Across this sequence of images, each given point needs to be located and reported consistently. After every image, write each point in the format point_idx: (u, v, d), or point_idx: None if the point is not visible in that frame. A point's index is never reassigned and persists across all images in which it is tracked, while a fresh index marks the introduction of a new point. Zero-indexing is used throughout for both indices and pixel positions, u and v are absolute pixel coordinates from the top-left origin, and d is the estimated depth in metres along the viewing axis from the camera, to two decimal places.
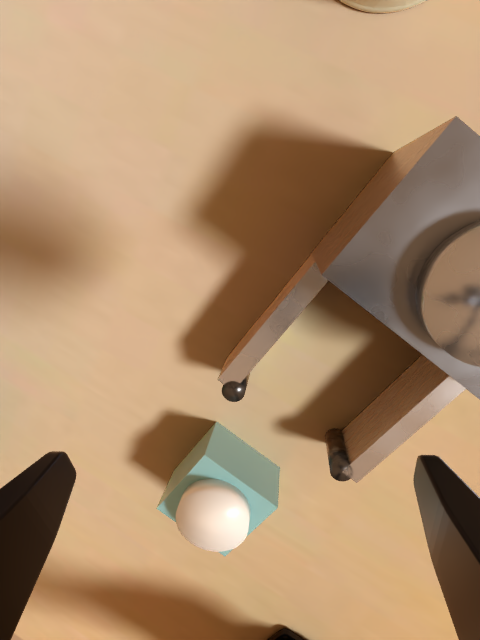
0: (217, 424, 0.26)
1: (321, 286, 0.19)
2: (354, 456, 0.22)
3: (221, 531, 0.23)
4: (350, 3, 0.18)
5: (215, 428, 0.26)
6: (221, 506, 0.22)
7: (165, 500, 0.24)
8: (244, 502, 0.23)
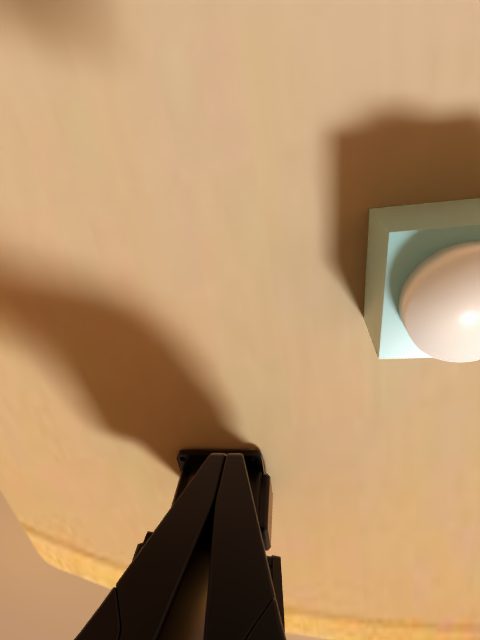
0: None
1: None
2: None
3: (465, 331, 0.14)
4: None
5: None
6: None
7: (418, 232, 0.13)
8: None
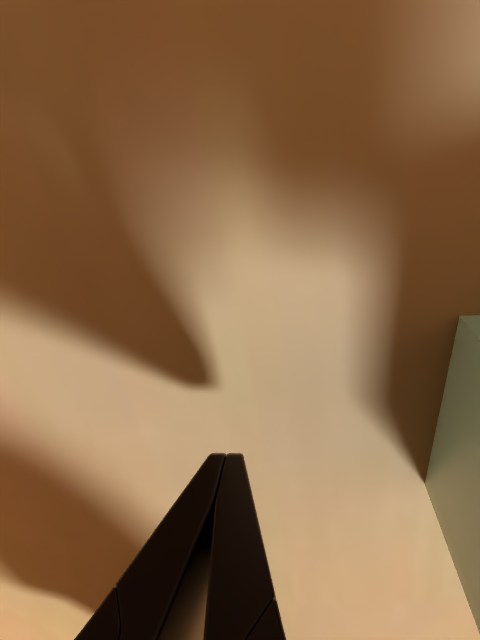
0: None
1: None
2: None
3: None
4: None
5: None
6: None
7: None
8: None
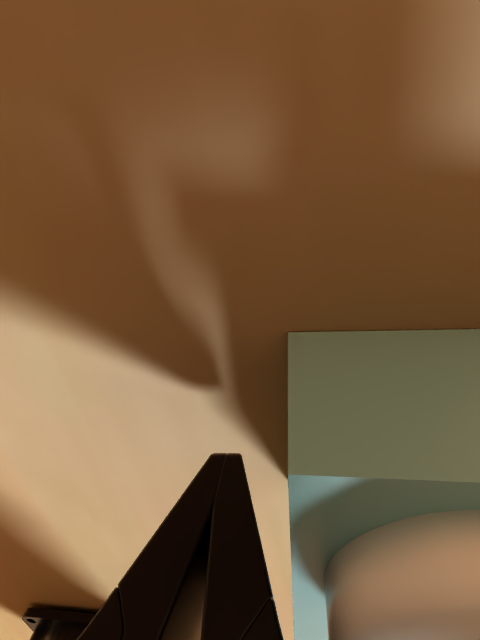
0: None
1: None
2: None
3: None
4: None
5: None
6: None
7: (359, 481, 0.05)
8: None
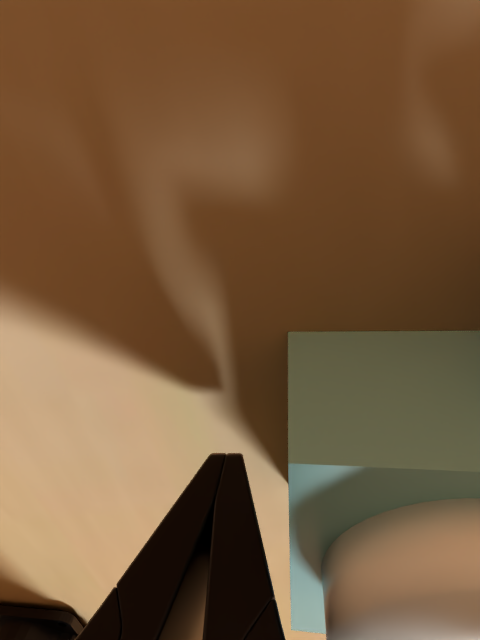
0: None
1: None
2: None
3: None
4: None
5: None
6: None
7: (357, 469, 0.05)
8: None
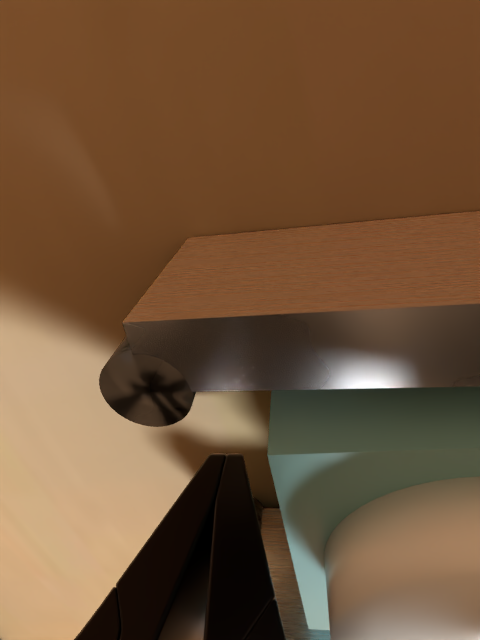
0: None
1: None
2: None
3: None
4: None
5: None
6: None
7: (339, 456, 0.05)
8: None
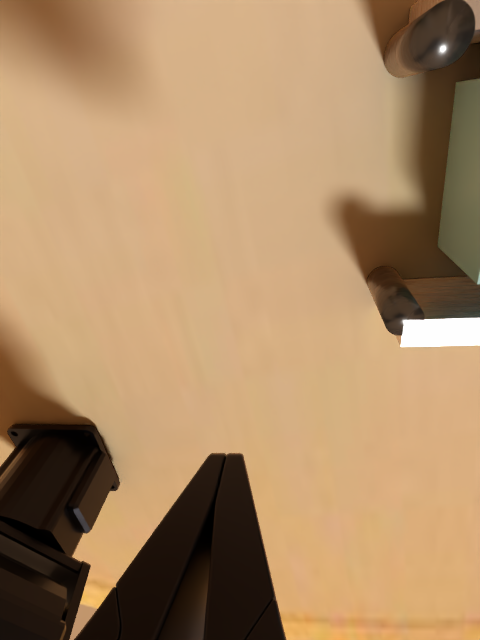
0: None
1: None
2: (437, 315, 0.13)
3: None
4: None
5: None
6: None
7: None
8: None
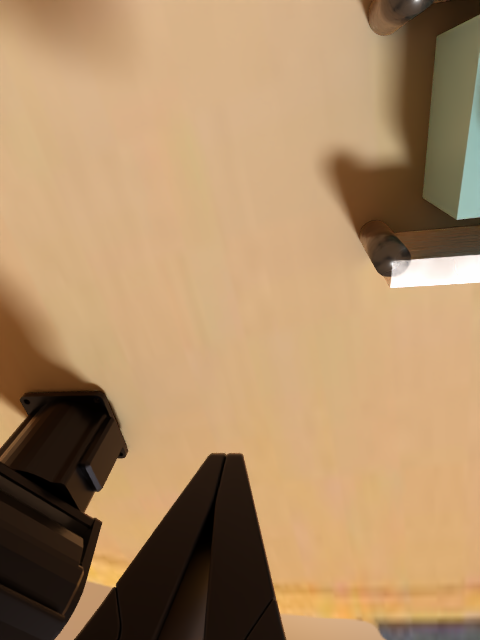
0: None
1: None
2: (422, 256, 0.14)
3: None
4: None
5: None
6: None
7: None
8: None
